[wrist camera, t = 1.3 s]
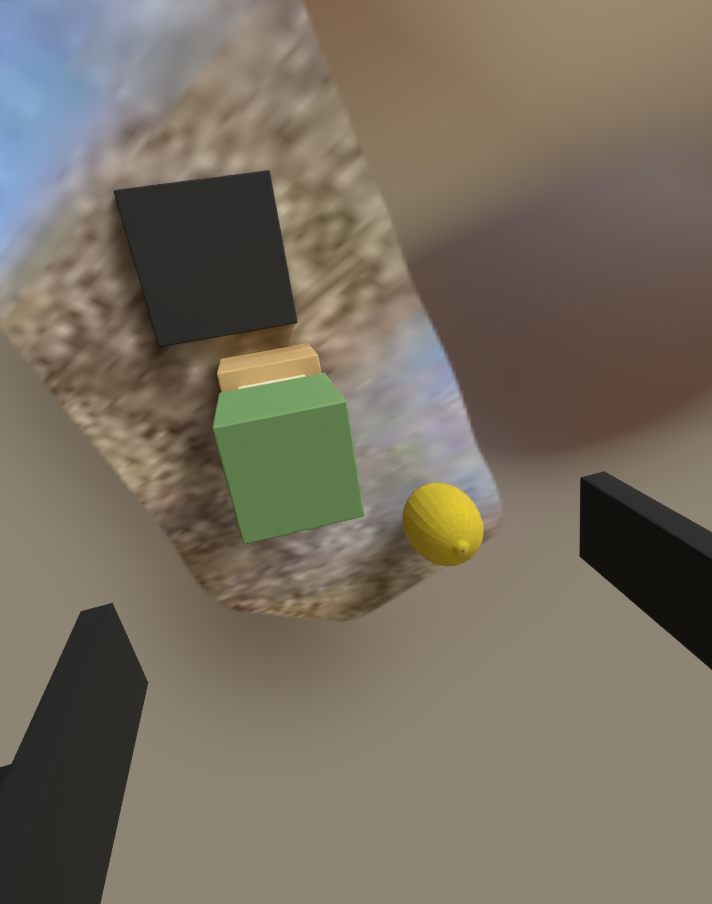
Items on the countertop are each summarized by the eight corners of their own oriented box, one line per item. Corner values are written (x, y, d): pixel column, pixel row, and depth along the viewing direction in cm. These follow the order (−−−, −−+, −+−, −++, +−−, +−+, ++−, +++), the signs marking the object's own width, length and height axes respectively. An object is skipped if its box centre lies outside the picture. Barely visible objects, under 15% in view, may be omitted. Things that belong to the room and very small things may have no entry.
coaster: (115, 191, 29) (112, 189, 28) (269, 171, 30) (269, 169, 29) (160, 345, 32) (158, 347, 32) (296, 322, 33) (297, 322, 33)
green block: (218, 392, 25) (211, 427, 20) (324, 372, 26) (346, 400, 20) (243, 489, 27) (243, 545, 22) (340, 467, 28) (364, 516, 22)
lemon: (442, 456, 39) (487, 499, 32) (463, 510, 41) (511, 563, 34) (380, 487, 39) (411, 538, 32) (405, 540, 41) (440, 599, 34)
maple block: (220, 358, 33) (216, 373, 29) (308, 343, 34) (318, 354, 29) (240, 441, 35) (240, 467, 31) (322, 424, 36) (334, 447, 32)
